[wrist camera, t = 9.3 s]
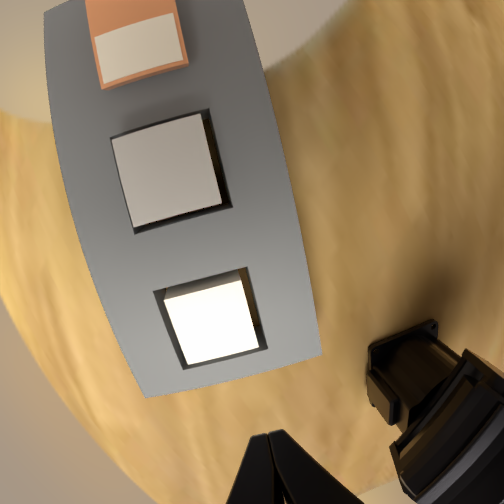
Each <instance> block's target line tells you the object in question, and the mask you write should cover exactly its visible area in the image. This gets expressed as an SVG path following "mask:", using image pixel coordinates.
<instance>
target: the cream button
mask: <svg viewBox="0 0 504 504" xmlns="http://www.w3.org/2000/svg"><path fill="white" fill-rule="evenodd" d="M164 302H165V305H166V308H167V311H168V313H169V316H170V319H171V322H172V324H173V327H174V330H175V332H176V335H177V338H178V340H179V343H180V345H181V348H182V351H183V353H184V356H185V358H186V361H187V363H188V365H189V364H193V363H198V362H202V361H206V360H211V359H215V358H219V357H223V356H227V355H231V354H235V353H239V352H243V351H247V350H250V349H254V348H258V347H259V346H258V342H257V339H256V335H255V331H254V328H253V324H252V320H251V316H250V312H249V309H248V305H247V301H246V297H245V294H244V290H243V286H242V282H241V279H240V276H239V273H238V270H237V269H235V270H232V271H228V272H224V273H220V274H216V275H213V276H209V277H205V278H201V279H197V280H193V281H190V282H186V283H182V284H178V285H174V286H170V287H168V289H167V292H166V295H165V298H164Z"/></svg>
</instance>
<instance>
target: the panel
mask: <svg viewBox="0 0 504 504" xmlns="http://www.w3.org/2000/svg"><path fill="white" fill-rule="evenodd" d="M175 2H176V7H177V12H178V16H179V21H180V26H181V30H182V35H183V40H184V44H185V49H186V53H187V58H188V62H189V66H188V67H184V68H180V69H176V70H172V71H168V72H165V73H161V74H157V75H154V76H151V77H147V78H144V79H141V80H138V81H134V82H131V83H128V84H125V85H122V86H119V87H117V88H114V89H111V90H101V85H100V81H99V76H98V71H97V67H96V62H95V57H94V52H93V47H92V41H91V36H90V30H89V24H88V18H87V11H86V4H85V0H69V1H67V2H64V3H62V4H60V5H58V6H56V7H54V8H52V9H50V10H48V11H46V12H44V47H45V64H46V76H47V87H48V95H49V104H50V111H51V119H52V125H53V131H54V137H55V143H56V148H57V153H58V158H59V163H60V168H61V173H62V177H63V181H64V186H65V190H66V194H67V198H68V202H69V206H70V209H71V213H72V217H73V220H74V224H75V227H76V231H77V234H78V237H79V241H80V244H81V247H82V250H83V253H84V256H85V259H86V262H87V265H88V268H89V271H90V274H91V277H92V279H93V282H94V285H95V288H96V290H97V293H98V296H99V298H100V301H101V303H102V306H103V308H104V311H105V313H106V316H107V318H108V321H109V323H110V325H111V328H112V330H113V332H114V335H115V337H116V339H117V342H118V344H119V346H120V348H121V350H122V353H123V355H124V357H125V359H126V361H127V363H128V365H129V367H130V369H131V371H132V373H133V375H134V378H135V379H136V381H137V383H138V385H139V387H140V389H141V391H142V393H143V395H144V397H145V398H149V397H155V396H161V395H167V394H172V393H177V392H182V391H187V390H192V389H197V388H202V387H206V386H211V385H215V384H219V383H224V382H228V381H232V380H236V379H240V378H244V377H248V376H252V375H255V374H259V373H263V372H267V371H270V370H274V369H277V368H281V367H284V366H287V365H291V364H294V363H297V362H301V361H304V360H307V359H310V358H313V357H316V356H319V355H322V349H321V343H320V336H319V330H318V324H317V318H316V312H315V306H314V300H313V294H312V289H311V283H310V278H309V272H308V267H307V261H306V256H305V251H304V246H303V240H302V235H301V230H300V225H299V220H298V216H297V211H296V206H295V201H294V197H293V192H292V187H291V183H290V178H289V174H288V169H287V165H286V160H285V156H284V152H283V147H282V143H281V139H280V135H279V131H278V126H277V122H276V118H275V114H274V110H273V106H272V102H271V98H270V95H269V91H268V87H267V83H266V79H265V75H264V72H263V68H262V65H261V61H260V57H259V53H258V50H257V47H256V43H255V39H254V36H253V32H252V29H251V26H250V22H249V19H248V15H247V12H246V9H245V5H244V2H243V0H175ZM197 114H201V119H202V120H206V119H209V122H210V127H211V131H212V135H213V139H214V143H215V147H216V152H217V156H218V160H219V164H220V168H221V172H222V176H223V180H224V184H225V188H226V193H227V197H228V201H229V203H226V204H222V205H218V206H214V207H210V208H207V209H203V210H199V211H195V212H192V213H188V214H184V215H180V216H177V217H173V218H170V219H166V220H163V221H159V222H155V223H152V224H149V225H145V224H144V225H140V226H137V227H133V223H132V220H131V216H130V213H129V209H128V206H127V202H126V198H125V194H124V190H123V186H122V183H121V178H120V174H119V170H118V166H117V162H116V157H115V153H114V149H113V144H112V140H113V139H116V138H119V137H122V136H125V135H128V134H131V133H134V132H137V131H140V130H143V129H146V128H150V127H153V126H156V125H160V124H163V123H167V122H170V121H174V120H177V119H181V118H185V117H189V116H193V115H197ZM243 267H245V269H246V273H247V277H248V281H249V285H250V289H251V293H252V297H253V301H254V305H255V308H256V312H257V316H258V320H259V324H260V326H256V327H253V328H254V331H255V335H256V339H257V342H258V346H259V347H258V348H254V349H250V350H247V351H243V352H239V353H235V354H231V355H227V356H223V357H219V358H215V359H211V360H206V361H202V362H198V363H193V364H189V365H188V363H187V361H186V358H185V356H184V353H183V351H182V348H181V345H180V343H179V340H178V338H177V335H176V332H175V330H174V327H173V324H172V322H171V319H170V316H169V313H168V311H167V308H166V305H165V302H164V298H165V295H166V289H165V288H166V287H170V286H174V285H178V284H182V283H186V282H190V281H193V280H197V279H201V278H205V277H209V276H213V275H216V274H220V273H224V272H228V271H232V270H235V269H239V268H243Z"/></svg>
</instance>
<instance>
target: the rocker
mask: <svg viewBox="0 0 504 504" xmlns="http://www.w3.org/2000/svg"><path fill="white" fill-rule="evenodd" d="M85 4H86V11H87V18H88V24H89V30H90V36H91V41H92V47H93V52H94V57H95V62H96V67H97V71H98V76H99V81H100V85H101V90H111V89H114V88H117V87H119V86H122V85H125V84H128V83H131V82H134V81H138V80H141V79H144V78H147V77H151V76H154V75H157V74H161V73H165V72H168V71H172V70H176V69H180V68H184V67H188V66H189V62H188V58H187V53H186V49H185V44H184V40H183V35H182V30H181V26H180V21H179V16H178V12H177V7H176V2H175V0H85Z"/></svg>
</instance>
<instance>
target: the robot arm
mask: <svg viewBox="0 0 504 504" xmlns="http://www.w3.org/2000/svg"><path fill="white" fill-rule="evenodd" d="M432 325H433V326H432ZM437 337H438V322H437V321H436V320H434V319H431V320H429V321H427V322H425V323H422V324H420V325H418V326H416V327H413V328H411V329H409V330H406V331H404V332H402V333H399V334H397V335H395V336H392V337H390V338H387V339H385V340H382V341H380V342H377V343H375V344H373V345H371V346H370V347H369V349H368V360H369V371H368V372H367V395H368V397H369V398H370V404H371V405H372V406H373V407H376V408H377V410H378V411H379V412H380V414H381V415H382V417H383V418H384V419H385V421H386V422H387V424H388V425H390V426H392V425H395V424H396V425H397V427H398V428H399V429H400V431H401V432H402V433H403V434H402V435H401V436H400V437H399V438H398V439H397V440H396V441H394V442H393V443H392V444H391V445H390V446H389V449H390V452H391V455H392V458H393V461H394V465H395V468H396V471H397V474H398V478H399V481H400V484H401V486H402V489H403V492H404V493H405V494H407V495H408V496H409V497H410V498H411V499H412V500H413V501H415V502H416V503H417V504H504V373H503V372H502V371H500V370H499V369H498V368H496V367H495V366H494V365H492V364H491V363H489V362H488V361H486V360H484V359H483V358H481V357H480V356H478V355H476V354H475V353H473V352H471V351H470V350H468V349H467V348H465V350H464V352H463V353H462V357H460V356H459V355H458V354H457V353H455V352H454V351H453V350H451V349H450V348H449V347H448V346H446V345H445V344H444V343H442V342H441V341H440V340H439V339H437ZM375 349H377V350H376V351H375V352H374V350H375ZM283 495H284V496H283ZM284 498H285V500H284ZM285 502H286V504H364V503H363V502H362V501H361V500H360V499H358V498H357V497H356V496H355V495H354V494H353V493H351V492H350V491H349V490H348V489H347V488H346V487H345V486H343V485H342V484H341V483H340V482H339V481H338V480H337V479H335V478H334V477H333V476H332V475H331V474H330V473H329V472H328V471H327V470H325V469H324V468H323V467H322V466H321V465H320V464H319V463H318V462H317V461H316V460H315V459H314V458H313V457H312V456H310V455H309V454H308V453H307V452H306V451H305V450H304V449H303V448H302V447H301V446H300V445H299V444H298V443H297V442H296V441H295V440H294V439H293V438H292V437H291V436H290V435H289V434H288V433H287V432H286V431H285V430H283V429H280V430H275V431H271V432H269V433H268V435H267V434H266V433H262V434H258V435H253V436H251V438H250V440H249V443H248V445H247V448H246V451H245V454H244V457H243V459H242V462H241V465H240V467H239V470H238V473H237V476H236V478H235V481H234V483H233V486H232V489H231V491H230V494H229V496H228V499H227V502H226V504H285Z"/></svg>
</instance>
